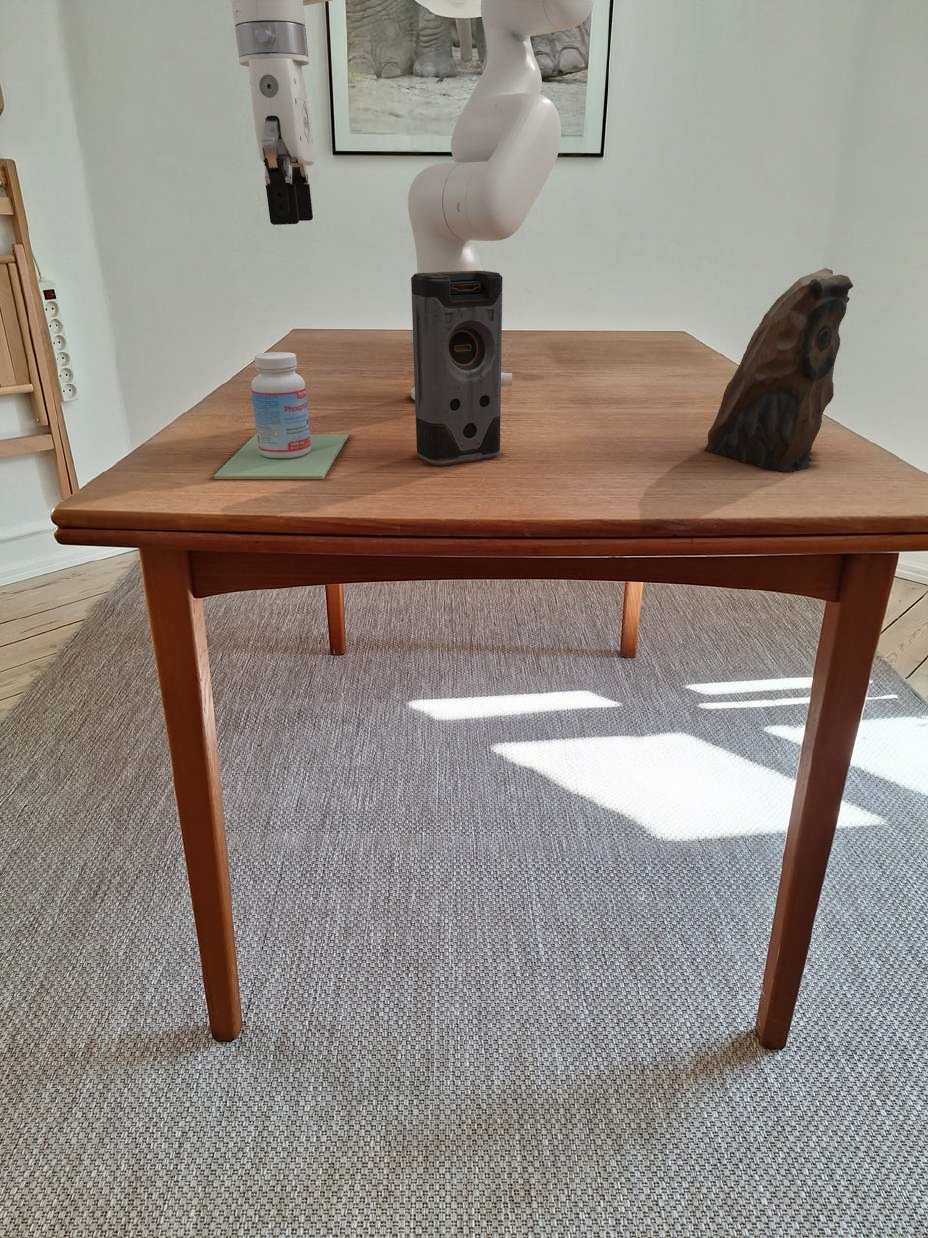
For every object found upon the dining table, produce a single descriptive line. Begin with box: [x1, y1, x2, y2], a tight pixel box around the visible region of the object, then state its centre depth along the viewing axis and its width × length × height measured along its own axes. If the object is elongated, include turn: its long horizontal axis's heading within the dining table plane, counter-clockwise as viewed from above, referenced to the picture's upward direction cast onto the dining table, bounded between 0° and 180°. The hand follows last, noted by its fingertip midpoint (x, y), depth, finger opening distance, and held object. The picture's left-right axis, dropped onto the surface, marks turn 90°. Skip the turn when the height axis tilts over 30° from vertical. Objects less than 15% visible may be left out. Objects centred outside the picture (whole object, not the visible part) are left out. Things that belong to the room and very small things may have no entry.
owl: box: [704, 267, 854, 473], centre depth 90 cm, size 13×13×20 cm
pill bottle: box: [250, 351, 311, 458], centre depth 94 cm, size 6×6×11 cm
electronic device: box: [410, 270, 503, 467], centre depth 91 cm, size 9×6×20 cm, turn 117°
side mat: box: [213, 433, 349, 480], centre depth 96 cm, size 12×18×1 cm, turn 179°
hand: (292, 222), depth 97 cm, fingers open, 9 cm apart
